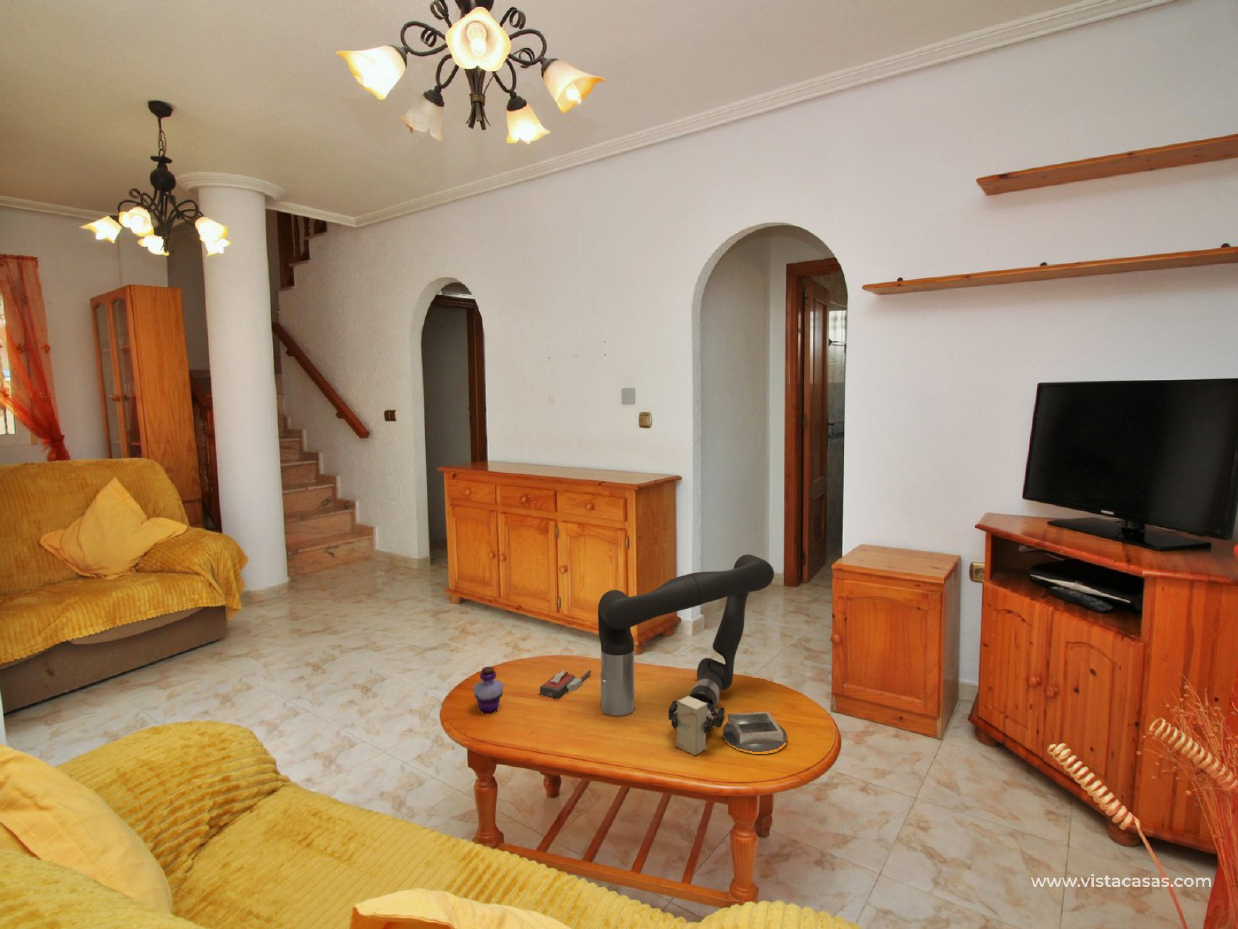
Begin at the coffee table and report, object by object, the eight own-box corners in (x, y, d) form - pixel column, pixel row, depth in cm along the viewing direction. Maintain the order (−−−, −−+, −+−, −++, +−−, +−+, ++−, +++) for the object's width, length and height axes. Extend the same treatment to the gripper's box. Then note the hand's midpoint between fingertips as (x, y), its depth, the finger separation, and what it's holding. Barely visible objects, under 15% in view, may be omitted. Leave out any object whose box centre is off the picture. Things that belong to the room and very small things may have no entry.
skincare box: (676, 747, 164) (676, 700, 163) (687, 740, 168) (687, 694, 166) (695, 757, 160) (696, 709, 159) (707, 750, 163) (707, 703, 162)
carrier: (732, 757, 160) (732, 741, 159) (716, 724, 176) (716, 710, 175) (796, 752, 161) (796, 737, 161) (774, 720, 177) (774, 706, 177)
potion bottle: (510, 706, 187) (509, 665, 186) (491, 719, 179) (490, 677, 178) (486, 699, 191) (485, 660, 190) (466, 712, 183) (465, 671, 182)
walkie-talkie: (562, 703, 189) (593, 676, 207) (562, 688, 189) (593, 662, 207) (536, 698, 193) (569, 671, 211) (536, 683, 192) (568, 658, 210)
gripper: (677, 681, 178) (661, 708, 163) (730, 688, 174) (719, 717, 158) (677, 707, 179) (661, 737, 164) (730, 715, 175) (718, 747, 159)
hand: (689, 727), depth 161 cm, fingers closed on skincare box, 7 cm apart
